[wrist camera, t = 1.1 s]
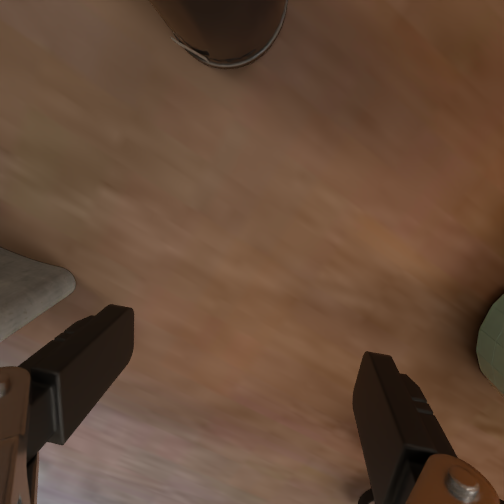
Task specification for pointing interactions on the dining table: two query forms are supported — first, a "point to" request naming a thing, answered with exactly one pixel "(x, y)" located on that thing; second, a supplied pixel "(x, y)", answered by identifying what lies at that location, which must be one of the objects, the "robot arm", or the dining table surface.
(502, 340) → the bowl
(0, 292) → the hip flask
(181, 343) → the dining table surface
